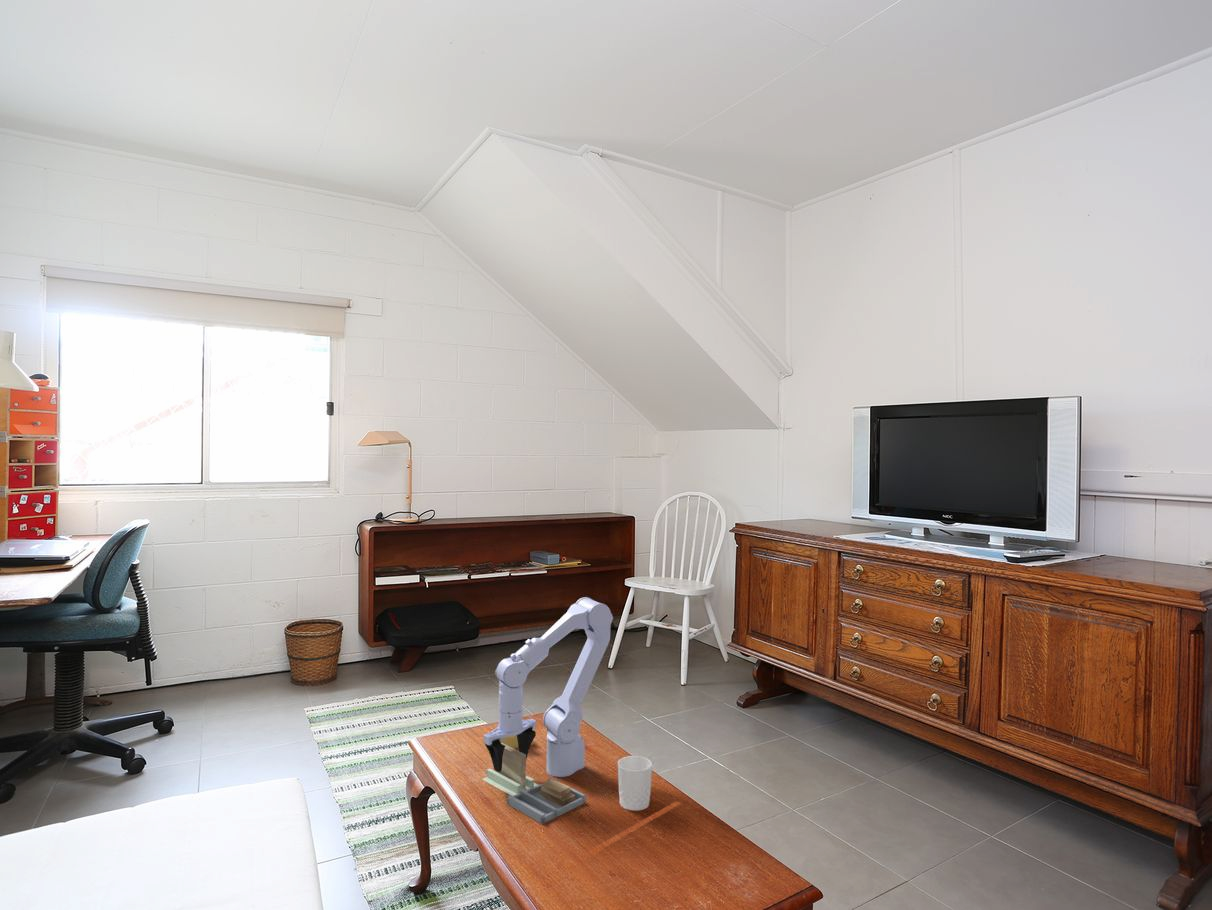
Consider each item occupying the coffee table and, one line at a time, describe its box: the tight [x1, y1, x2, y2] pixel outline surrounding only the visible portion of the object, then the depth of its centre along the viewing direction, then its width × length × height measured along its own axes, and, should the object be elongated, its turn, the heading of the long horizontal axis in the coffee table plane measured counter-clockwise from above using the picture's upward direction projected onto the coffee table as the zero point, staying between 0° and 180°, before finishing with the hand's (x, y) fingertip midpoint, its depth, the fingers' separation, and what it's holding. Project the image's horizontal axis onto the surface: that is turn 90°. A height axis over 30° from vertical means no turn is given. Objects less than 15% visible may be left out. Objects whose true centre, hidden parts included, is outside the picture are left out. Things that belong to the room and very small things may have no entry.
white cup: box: [617, 755, 653, 811], centre depth 163 cm, size 8×8×10 cm
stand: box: [481, 768, 539, 796], centre depth 172 cm, size 8×12×3 cm, turn 46°
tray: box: [507, 777, 586, 825], centre depth 162 cm, size 13×12×3 cm
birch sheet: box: [494, 743, 527, 790], centre depth 172 cm, size 2×10×8 cm, turn 46°
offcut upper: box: [540, 779, 571, 798], centre depth 165 cm, size 3×6×1 cm, turn 52°
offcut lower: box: [540, 789, 575, 807], centre depth 165 cm, size 4×8×1 cm, turn 46°
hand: (510, 765), depth 172 cm, fingers open, 7 cm apart
